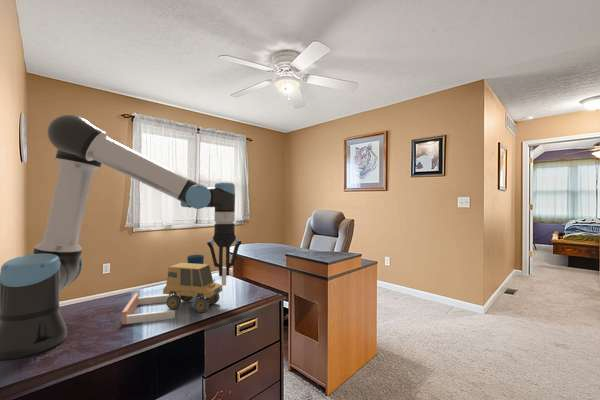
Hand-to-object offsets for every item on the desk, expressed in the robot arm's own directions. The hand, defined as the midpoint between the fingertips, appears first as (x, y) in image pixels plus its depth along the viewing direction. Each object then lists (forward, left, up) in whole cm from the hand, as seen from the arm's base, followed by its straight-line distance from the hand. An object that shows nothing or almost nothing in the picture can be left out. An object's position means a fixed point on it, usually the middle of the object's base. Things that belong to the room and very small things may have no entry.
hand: (223, 284), depth 107 cm
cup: (-11, +20, -7) cm, 23 cm away
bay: (-24, 0, -7) cm, 25 cm away
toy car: (-11, 0, -7) cm, 13 cm away
